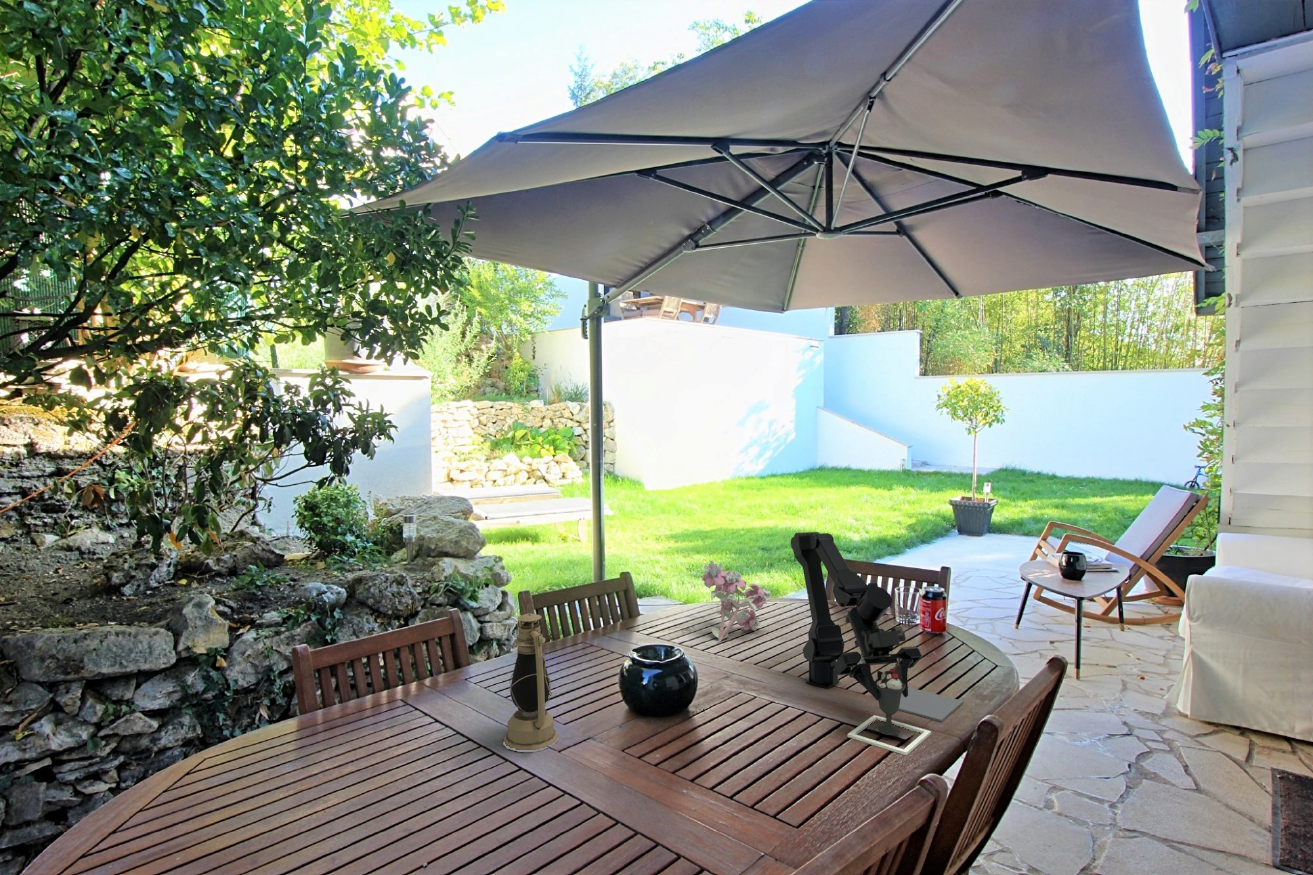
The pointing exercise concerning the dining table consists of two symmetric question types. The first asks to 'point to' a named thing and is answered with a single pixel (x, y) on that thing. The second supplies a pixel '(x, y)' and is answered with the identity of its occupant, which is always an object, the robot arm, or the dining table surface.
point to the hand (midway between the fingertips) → (892, 698)
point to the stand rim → (902, 751)
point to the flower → (728, 585)
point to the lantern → (530, 690)
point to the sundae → (889, 698)
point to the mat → (928, 704)
